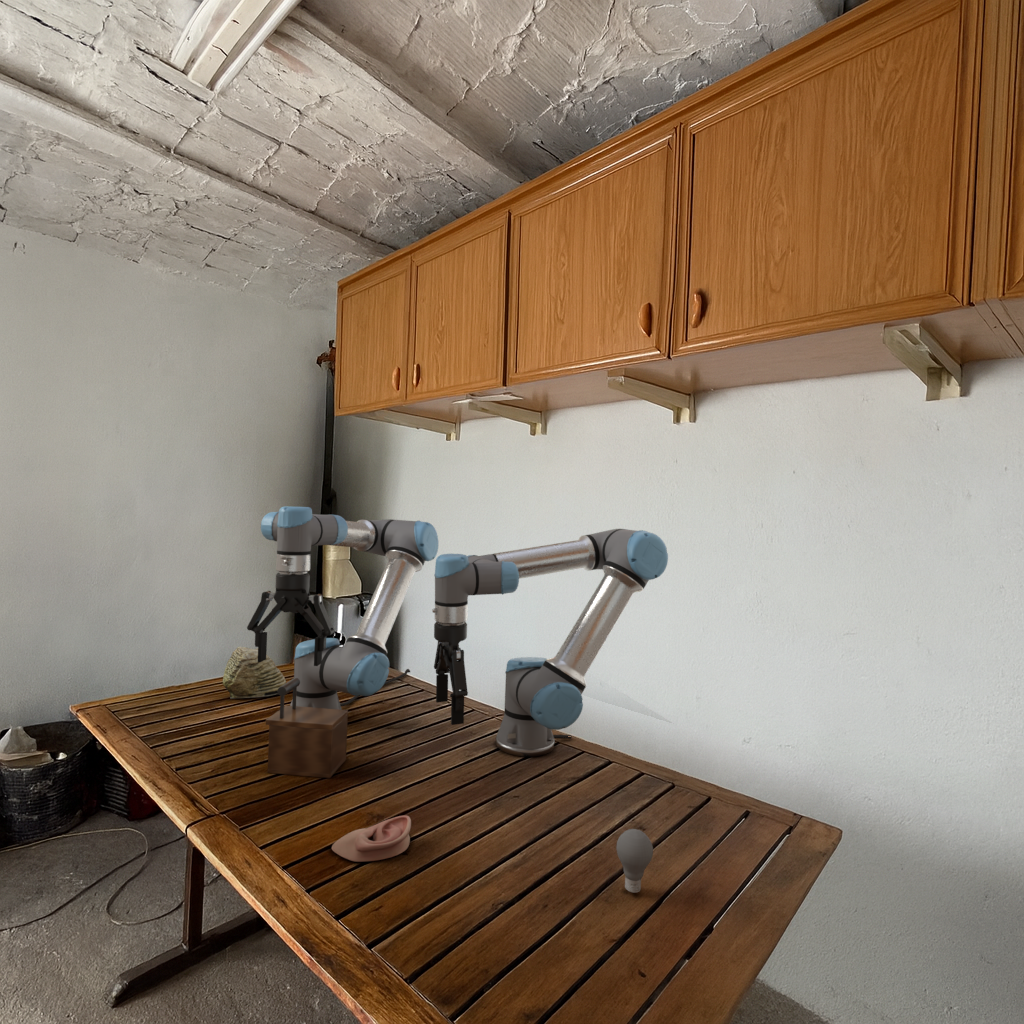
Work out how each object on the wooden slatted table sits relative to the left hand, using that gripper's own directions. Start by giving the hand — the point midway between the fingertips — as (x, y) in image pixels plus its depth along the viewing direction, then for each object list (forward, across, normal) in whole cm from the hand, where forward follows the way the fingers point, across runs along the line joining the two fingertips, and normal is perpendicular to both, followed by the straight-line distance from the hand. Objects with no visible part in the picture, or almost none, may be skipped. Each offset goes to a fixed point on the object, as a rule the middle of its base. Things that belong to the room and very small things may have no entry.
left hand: (289, 662), depth 148 cm
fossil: (+24, -32, +46) cm, 61 cm away
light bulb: (+24, +77, -36) cm, 88 cm away
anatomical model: (+24, +31, -30) cm, 49 cm away
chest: (+24, +5, 0) cm, 25 cm away
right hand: (+9, +38, +1) cm, 39 cm away
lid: (+13, +5, 0) cm, 14 cm away
